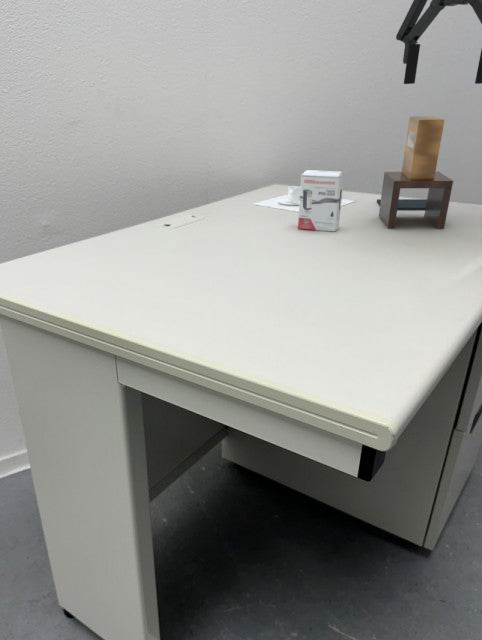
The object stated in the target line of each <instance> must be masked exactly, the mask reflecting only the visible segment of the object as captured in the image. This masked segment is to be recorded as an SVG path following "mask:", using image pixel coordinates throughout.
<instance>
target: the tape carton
mask: <svg viewBox="0 0 482 640" xmlns="http://www.w3.org/2000/svg"><path fill="white" fill-rule="evenodd" d="M444 125H445V119H443V118H440V117H438V116H434V115H420V116H419V115H418V116H409V119H408V125H407V133H406V139H405V144H404V145H405V146H404V151H403V152H404V153H403V161H402V167H401V172H402V174H404V175H405V176H406V177H407V178H408V179H410V180H434V177H435V172H437V166H438V159H439V154H440V148H441V142H442V136H443V133H444Z"/></svg>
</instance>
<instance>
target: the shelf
mask: <svg viewBox="0 0 482 640" xmlns="http://www.w3.org/2000/svg"><path fill="white" fill-rule="evenodd" d="M453 185H454V180H453V179H451V178H449V177H448V176H447V175H445V174H443V173H442V172H440V171H436V172H435V177H434V180H410V179H408V178H407V177H406V176H405V175H404V174H402V171H384V173H383V181H382V187H381V194H380V195H381V196H380V199H381V202H380V205H379V211H378V217H379V218H380V220H381V221H382V222H383V224H384V226H385V227H386V229H395V227H396V220H397V214H398V210H397V208H398V201H399V199H400V194H401V189H428V192H427V198H426V199H427V203H426V209H425V210H424V217H425V218H426V219H427V220H428V221H429V222H430V224H432V225H433V226H434V227H435V228H436V229H438V230H441V229H445V226H446V221H447V215H448V210H449V205H450V202H451V201H450V200H451V195H452V190H453Z"/></svg>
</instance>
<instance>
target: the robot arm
mask: <svg viewBox="0 0 482 640" xmlns="http://www.w3.org/2000/svg"><path fill="white" fill-rule="evenodd" d="M427 3H428V0H412V3H411V4H410V7H409V9H408V11H407V13H406V15H405V17H404V18H403V21H402V23H401V25H400V27H399V29H398V31H397V33H396V35H395V39H396V40H397V41H400V42H402V43H403V44H404V49H403V56H402V57H403V58H402V63H403V65H405V70H404V71H405V72H404V77H403V78H404V79H403V85H413V84H414V85H415V83H416V77H417V69H418V64H419V63H418V62H419V56H420V49H421V43H419V42H418V41H419V39H420V38H421V37H422V36H423V34H424V33H425V32H426V30H427V29H428V28H429V27H430V25H431V24H432V23H433V21H435V19H436V18H437V17H438V15H439V14H440V12H441V11H443V10H444V9H445V8H446V7H455V6H457V5H458V6H459V5H461V6H467V5H469V6H471V8H472V9H473V11H474V13H475V15H476V17H477V19H478V20H479V22H480V24H481V25H482V0H431V1H430V3H429V6H428V7H427V8H426V9H425V11H424V12H423V10H424V8H425V7H426V4H427ZM422 12H423V14H422ZM421 14H422V15H421ZM474 84H476V85H480V84H482V48H481V50H480V54H479V60H478V66H477V70H476V76H475V80H474Z"/></svg>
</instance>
